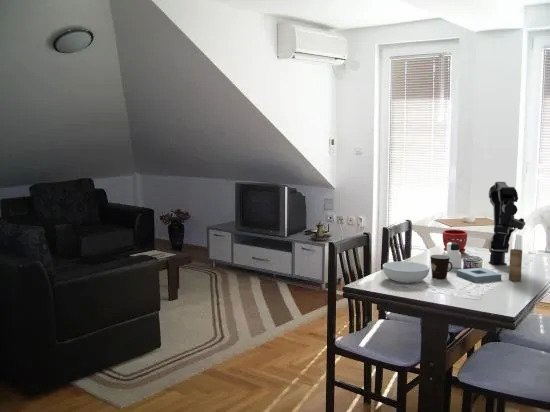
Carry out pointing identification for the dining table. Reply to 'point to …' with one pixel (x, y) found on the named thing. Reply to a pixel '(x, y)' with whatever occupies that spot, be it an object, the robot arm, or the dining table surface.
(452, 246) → the medicine bottle
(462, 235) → the plant pot
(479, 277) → the slate holder block
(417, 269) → the serving bowl
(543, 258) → the dining table surface
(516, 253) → the walnut peg
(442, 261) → the coffee mug
